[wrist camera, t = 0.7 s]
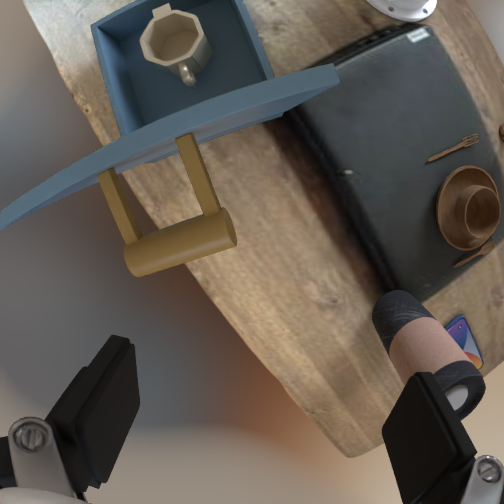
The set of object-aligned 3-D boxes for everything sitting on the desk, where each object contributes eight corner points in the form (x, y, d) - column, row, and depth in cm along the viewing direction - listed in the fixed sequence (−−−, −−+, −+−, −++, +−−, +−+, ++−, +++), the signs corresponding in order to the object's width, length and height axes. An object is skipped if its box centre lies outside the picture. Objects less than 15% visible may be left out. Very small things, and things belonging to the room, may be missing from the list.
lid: (-7, 216, 12) (45, 320, 14) (333, 62, 9) (377, 219, 12) (127, 162, 29) (149, 215, 32) (285, 102, 27) (304, 162, 29)
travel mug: (364, 333, 43) (410, 435, 24) (376, 286, 41) (441, 377, 22) (408, 334, 43) (466, 424, 24) (422, 289, 41) (498, 370, 22)
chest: (115, 41, 32) (89, 25, 25) (233, -7, 30) (226, -35, 23) (153, 162, 37) (130, 165, 30) (282, 116, 35) (286, 107, 28)
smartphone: (461, 311, 42) (464, 314, 41) (482, 361, 44) (485, 364, 43) (426, 340, 43) (429, 343, 42) (452, 385, 46) (455, 389, 45)
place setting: (412, 162, 36) (434, 165, 30) (505, 118, 32) (530, 117, 26) (447, 275, 40) (467, 291, 34) (530, 220, 36) (552, 229, 31)
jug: (150, 35, 31) (132, 19, 25) (199, 15, 30) (188, -6, 24) (173, 102, 34) (156, 94, 28) (224, 82, 33) (217, 69, 27)
